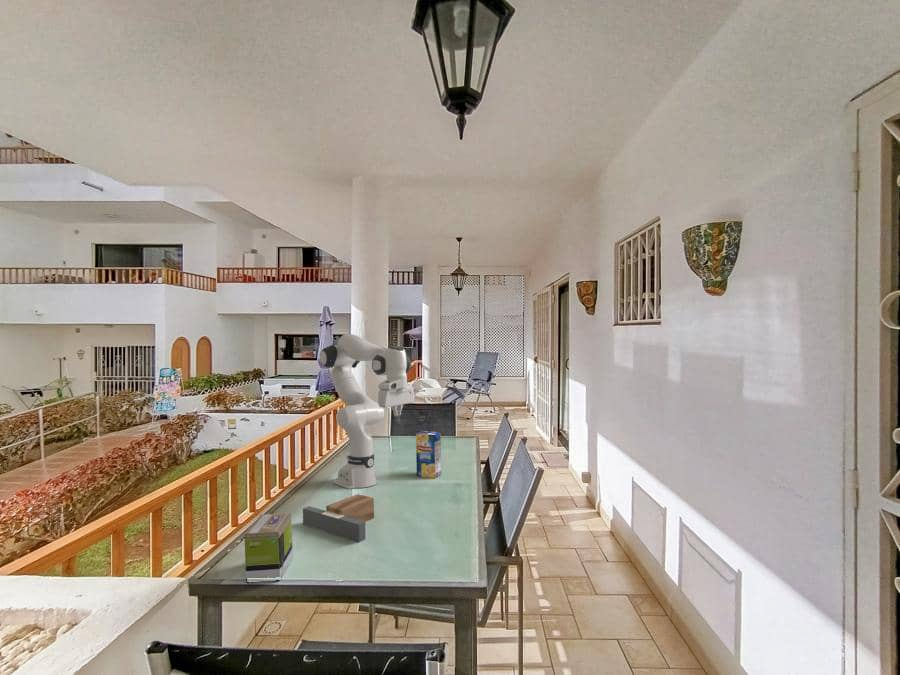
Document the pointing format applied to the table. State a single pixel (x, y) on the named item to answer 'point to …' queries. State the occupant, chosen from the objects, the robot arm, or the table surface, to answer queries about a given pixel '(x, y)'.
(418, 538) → the table surface
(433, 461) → the beverage box
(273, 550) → the tea box
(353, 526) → the stop board
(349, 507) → the walnut block
